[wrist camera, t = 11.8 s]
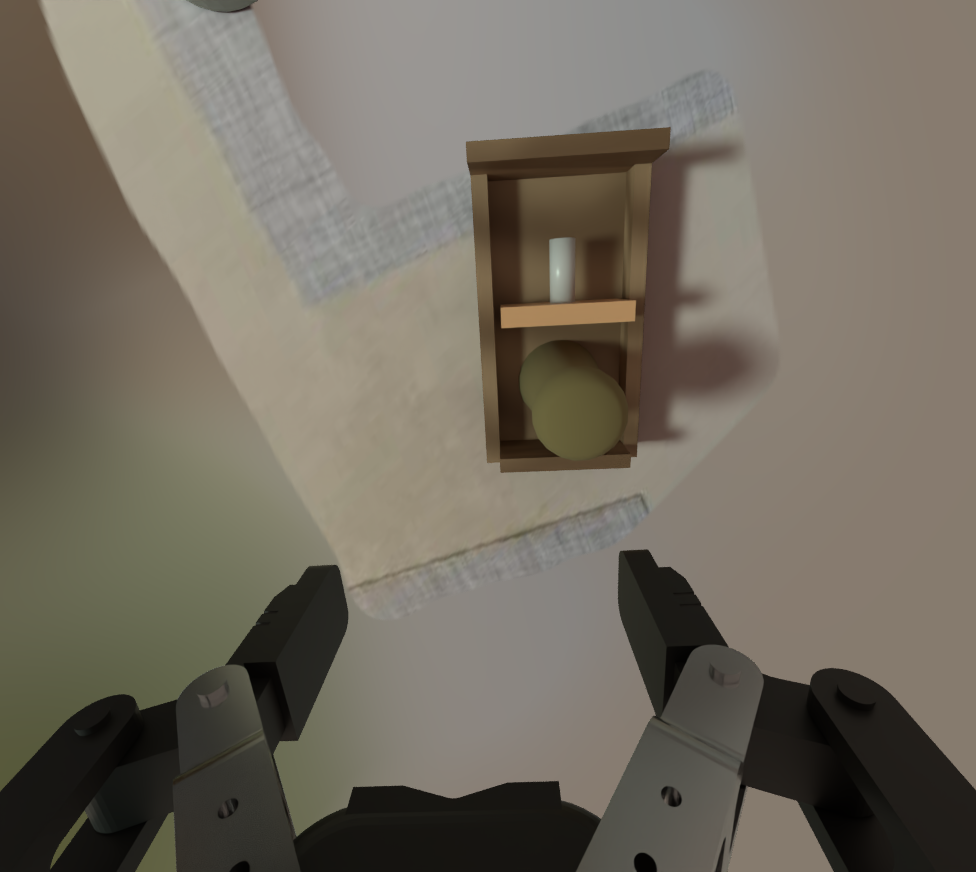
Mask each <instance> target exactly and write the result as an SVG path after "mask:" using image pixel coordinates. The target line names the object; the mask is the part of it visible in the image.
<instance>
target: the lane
mask: <svg viewBox="0 0 976 872" xmlns="http://www.w3.org/2000/svg"><path fill="white" fill-rule="evenodd" d="M670 129H671V127H668V128H654V129H640V130H626V131H612V132H597V133H583V134H569V135H555V136H541V137H528V138H512V139H499V140H484V141H471V142H466V151H467V164H468V168H469V171H470V175H471V190H472V207H473V225H474V242H475V259H476V277H477V294H478V311H479V328H480V346H481V363H482V380H483V398H484V415H485V432H486V449H487V463H493V462H500V470H501V473H504V472H530V471H556V470H582V469H608V468H630V462H631V457H637V441H638V421H639V402H640V382H641V363H642V344H643V324H644V305H645V286H646V266H647V247H648V228H649V208H650V189H651V169H652V163H653V162H654V161H655V160H656V159H657V158H659V157H660V156H661V155H662V154H664V153H665V152H666V151H667V150H668V149H669V145H670ZM569 237H572V238H575V301H578V300H596V299H614V298H616V299H627V300H636V310H635V321H630V322H611V323H592V324H573V325H554V326H535V327H515V328H501V305H504V304H523V303H541V302H550V259H549V240H550V239H555V238H569ZM555 340H567V341H571V342H575V343H578V344H579V345H581V346H582V347H584V348H585V349H587V350H588V351H589V352H590V354H591V355H592V356H593V358H594V359H595V360H596V363H597V366H598V368H599V370H601V371H603V372H604V373H606V374H607V375H609V376H610V377H612V378H613V379H614V380H615V381H616V382H617V383H618V385H619V386H620V387H621V389H622V390H623V391H624V394H625V397H626V401H627V404H628V423H627V426H626V428H625V431H624V434H623V436H622V437H621V439H620V440H619V441H618V443H617V444H616V445H615V446H614V447H613V448H612V449H611V450H609V451H608V452H606V453H605V454H604V455H602V456H599V457H596V458H594V459H591V460H582V461H573V460H569V459H565V458H561V457H560V456H558V455H556V454H555V453H553V452H551V451H550V450H548V449H547V448H546V447H545V446H544V445H543V443H542V442H541V441H540V440H539V439H538V437H537V434H536V432H535V429H534V426H533V422H532V411H531V409H530V408H529V407H528V406H527V405H526V403H525V402H524V401H523V398H522V396H521V393H520V391H519V378H518V377H519V373H520V370H521V366H522V364H523V362H524V361H525V359H526V358H527V356H528V355H529V354H530V353H531V352H532V351H533V350H534V349H536V348H537V347H538V346H539V345H542V344H544V343H547V342H550V341H555Z"/></svg>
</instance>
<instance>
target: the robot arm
mask: <svg viewBox="0 0 976 872" xmlns="http://www.w3.org/2000/svg"><path fill="white" fill-rule="evenodd" d="M187 1H189V2H191V3H193V4H194V5H196V6H198V7H201V8H205V9H208V10H211V11H223V12H230V11H234V10H239V9H243V8H245V7H247V6H249V5H251V4H252V3H254V2H256V1H258V0H187ZM618 604H619V611H620V616H621V620H622V623H623V626H624V628H625V631H626V634H627V637H628V639H629V642H630V645H631V648H632V650H633V653H634V656H635V659H636V661H637V664H638V667H639V670H640V672H641V675H642V678H643V681H644V683H645V686H646V689H647V692H648V694H649V697H650V700H651V703H652V705H653V708H654V711H655V714H656V716H653V717H652V718H651V719H650V721H649V722H648V724H647V727H646V728H645V730H644V733H643V734H642V737H641V739H640V741H639V743H638V745H637V747H636V749H635V751H634V753H633V755H632V757H631V759H630V762H629V763H628V765H627V767H626V770H625V772H624V774H623V776H622V778H621V780H620V782H619V784H618V786H617V788H616V790H615V792H614V794H613V796H612V798H611V800H610V803H609V805H608V807H607V809H606V811H605V813H604V815H603V817H602V819H600V818H599V817H598V816H596V815H594V814H592V813H591V812H589V811H587V810H585V809H584V808H581V807H579V806H577V805H574V804H572V803H568V802H565V801H561V797H560V788H559V782H558V781H549V782H514V783H505V784H502V785H498V786H495V787H492V788H489V789H486V790H482V791H479V792H476V793H473V794H469V795H466V796H463V797H460V798H453V799H452V798H446V797H443V796H439V795H435V794H432V793H428V792H424V791H421V790H417V789H413V788H410V787H406V786H375V787H353V790H352V793H351V797H350V800H349V804H348V807H347V808H344V809H341V810H339V811H336V812H334V813H332V814H330V815H328V816H326V817H324V818H323V819H321V820H319V821H317V822H316V823H314V824H313V825H311V826H310V827H309V828H307V829H306V830H304V831H303V832H302V833H301V834H300V835H299V836H296V833H295V829H294V826H293V822H292V819H291V816H290V812H289V808H288V805H287V801H286V798H285V794H284V790H283V787H282V783H281V779H280V776H279V772H278V769H277V765H276V762H275V759H274V755H273V753H274V751H275V749H276V747H277V745H278V743H279V741H298V739H299V737H300V735H301V732H302V730H303V728H304V726H305V723H306V721H307V719H308V717H309V714H310V712H311V710H312V707H313V705H314V703H315V701H316V698H317V696H318V694H319V692H320V689H321V687H322V685H323V683H324V680H325V678H326V676H327V673H328V671H329V669H330V667H331V664H332V662H333V660H334V658H335V655H336V653H337V651H338V648H339V646H340V644H341V642H342V639H343V637H344V635H345V632H346V629H347V624H348V608H347V603H346V598H345V594H344V589H343V584H342V579H341V574H340V570H339V568H338V566H337V565H322V566H309V567H308V568H307V569H306V571H305V572H304V574H303V575H302V576H301V578H300V580H299V581H298V582H297V584H296V585H289V586H288V587H287V588H285V589H284V590H283V591H282V592H280V593H279V594H278V595H277V596H275V597H274V598H273V600H272V601H271V602H270V604H269V605H268V606H267V608H266V609H265V611H264V614H262V615H261V616H260V618H259V619H258V621H257V622H256V626H253V627H252V629H251V630H250V632H249V633H248V634H247V636H246V637H245V639H244V640H243V641H242V643H241V644H240V646H239V647H238V648H237V650H236V651H235V652H234V654H233V655H232V657H231V658H230V659H229V661H228V663H227V664H226V665H225V666H221V667H217V668H214V669H212V670H210V671H208V672H206V673H204V674H202V675H201V676H199V677H197V678H196V679H195V680H193V681H192V682H191V683H190V684H189V685H188V686H187V687H186V688H185V689H184V690H183V691H182V693H181V694H180V696H179V698H178V699H177V700H174V701H171V702H167V703H164V704H160V705H157V706H154V707H150V708H147V709H143V710H139V708H138V706H137V703H136V701H135V699H134V698H133V697H132V696H129V695H125V694H121V695H114V696H110V697H106V698H104V699H101V700H98V701H96V702H94V703H92V704H90V705H88V706H86V707H85V708H83V709H82V710H80V711H79V712H77V713H76V714H74V715H73V716H72V717H71V718H69V719H68V720H67V721H66V722H65V723H64V724H63V725H62V726H61V727H60V728H59V729H58V730H57V731H56V732H55V733H54V734H53V735H52V737H51V738H50V739H49V740H48V741H47V742H46V743H45V744H44V745H43V746H42V747H41V748H40V749H39V750H38V752H37V753H36V754H35V755H34V756H33V757H32V758H31V759H30V760H29V761H28V762H27V763H26V764H25V766H24V767H23V768H22V769H21V770H20V771H19V772H18V773H17V774H16V775H15V776H14V777H13V779H12V780H11V781H10V782H9V783H8V784H7V785H6V786H5V787H4V788H3V789H2V790H1V792H0V872H135V871H136V869H137V867H138V866H139V864H140V862H141V860H142V859H143V857H144V855H145V854H146V852H147V850H148V848H149V847H150V845H151V843H152V841H153V839H154V838H155V836H156V834H157V833H158V831H159V829H160V827H161V826H162V824H163V822H164V820H165V818H166V817H167V815H168V813H171V812H174V828H175V848H176V869H177V872H728V867H729V863H730V859H731V854H732V850H733V846H734V842H735V837H736V834H737V829H738V825H739V821H740V817H741V813H742V809H743V804H744V800H745V796H746V792H747V788H748V787H752V788H755V789H759V790H762V791H765V792H769V793H772V794H776V795H780V796H782V797H786V798H790V799H793V800H796V801H798V803H799V805H800V807H801V809H802V811H803V813H804V815H805V817H806V818H807V821H808V823H809V824H810V827H811V828H812V830H813V832H814V834H815V836H816V838H817V840H818V842H819V844H820V846H821V848H822V850H823V852H824V853H825V855H826V857H827V859H828V861H829V863H830V865H831V867H832V869H833V871H834V872H976V790H975V789H974V788H973V787H972V785H971V784H970V783H969V782H968V781H967V780H966V779H965V778H964V776H963V775H962V774H961V773H960V772H959V771H958V770H957V768H956V767H955V766H954V765H953V764H952V763H951V761H950V760H949V759H948V758H947V757H946V756H945V755H944V754H943V752H942V751H941V750H940V749H939V748H938V747H937V746H936V744H935V743H934V742H933V741H932V740H931V739H930V738H929V736H928V735H927V734H926V733H925V732H924V731H923V730H922V729H921V727H920V726H919V725H918V724H917V723H916V722H915V721H914V720H913V718H912V717H911V716H910V715H909V714H908V713H907V711H906V710H905V709H904V708H903V707H902V706H901V705H900V703H899V702H898V701H897V700H896V699H895V698H894V697H893V696H892V695H891V694H890V693H889V692H888V691H887V690H886V689H884V688H883V687H882V686H880V685H879V684H877V683H876V682H874V681H872V680H870V679H869V678H866V677H864V676H862V675H860V674H857V673H854V672H851V671H848V670H843V669H836V668H835V669H834V668H828V669H822V670H819V671H817V672H816V673H815V674H814V675H813V676H812V678H811V682H810V685H806V684H801V683H797V682H791V681H787V680H782V679H778V678H774V677H770V676H767V675H765V674H762V673H761V671H760V670H759V668H758V667H757V665H756V664H755V663H754V662H753V661H752V660H750V658H748V657H747V656H745V655H744V654H742V653H740V652H739V651H736V650H734V649H732V648H729V647H728V645H727V644H726V642H725V640H724V639H723V637H722V636H721V634H720V632H719V631H718V629H717V628H716V626H715V625H714V623H713V621H712V620H711V618H710V617H709V615H708V613H707V612H706V610H705V609H704V607H703V606H701V603H700V601H699V599H698V598H697V596H696V595H694V591H693V590H692V588H691V587H690V585H689V583H688V582H687V580H686V579H685V578H684V577H683V576H681V575H680V574H679V573H677V572H676V571H675V570H673V569H672V568H671V567H659V568H658V566H657V564H656V562H655V561H654V559H653V557H652V555H651V553H650V552H649V550H629V551H628V550H627V551H620V553H619V573H618ZM84 810H85V812H86V814H87V816H88V818H87V819H86V821H85V822H84V824H83V825H82V827H81V828H80V829H79V831H78V832H77V833H76V835H75V836H74V838H73V839H72V840H71V842H70V843H69V844H68V846H67V847H66V849H65V850H64V851H63V853H62V854H61V856H60V857H59V858H58V860H57V861H56V863H55V864H54V865H53V867H52V868H51V870H50V865H51V862H52V859H53V856H54V854H55V852H56V850H57V848H58V846H59V844H60V843H61V841H62V840H63V839H64V837H65V836H66V835H67V833H68V832H69V830H70V829H71V828H72V826H73V825H74V824H75V822H76V821H77V820H78V818H79V817H80V815H81V814H82V813H83V811H84Z"/></svg>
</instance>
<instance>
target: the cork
mask: <svg viewBox="0 0 976 872" xmlns="http://www.w3.org/2000/svg"><path fill="white" fill-rule="evenodd" d="M518 378H519V391H520V393H521V396H522V398H523V401H524V402H525V403H526V405H527V406H528V407H529V408H530V409H531V411H532V422H533V426H534V429H535V432H536V434H537V437H538V439H539V440H540V441H541V442H542V443H543V445H544V446H545V447H546V448H547V449H548V450H550V451H551V452H553V453H555V454H556V455H558V456H560V457H561V458H565V459H569V460H573V461H582V460H591V459H594V458H596V457H599V456H602V455H604V454H605V453H606V452H608V451H609V450H611V449H612V448H613V447H614V446H615V445H616V444H617V443H618V441H619V440H620V439H621V437H622V436H623V434H624V431H625V428H626V426H627V423H628V404H627V401H626V397H625V394H624V391H623V390H622V389H621V387H620V386H619V385H618V383H617V382H616V381H615V380H614V379H613V378H612V377H610V376H609V375H607V374H606V373H604V372H603V371H601V370H599V368H598V366H597V363H596V360H595V359H594V358H593V356H592V355H591V354H590V352H589V351H588V350H587V349H585V348H584V347H582V346H581V345H579V344H578V343H575V342H571V341H567V340H555V341H550V342H547V343H544V344H542V345H539V346H538V347H537V348H536V349H534V350H533V351H532V352H531V353H530V354H529V355H528V356H527V358H526V359H525V361H524V362H523V364H522V366H521V370H520V373H519V377H518Z"/></svg>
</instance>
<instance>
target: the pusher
mask: <svg viewBox="0 0 976 872" xmlns="http://www.w3.org/2000/svg"><path fill="white" fill-rule="evenodd" d="M549 259H550V302H541V303H523V304H504V305H501V328H515V327H535V326H554V325H573V324H592V323H611V322H630V321H635V310H636V300H627V299H616V298H614V299H596V300H578V301H575V238H572V237H569V238H555V239H550V240H549Z"/></svg>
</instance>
